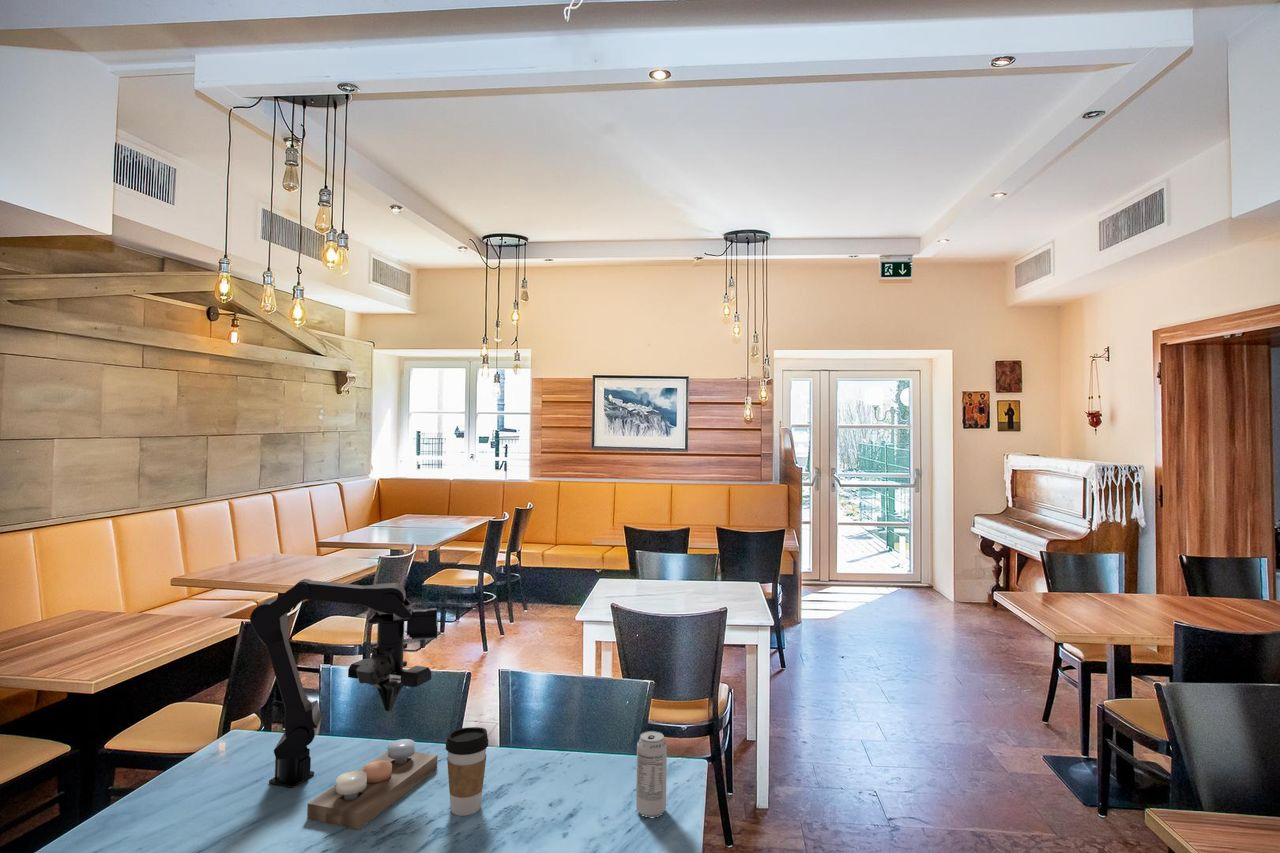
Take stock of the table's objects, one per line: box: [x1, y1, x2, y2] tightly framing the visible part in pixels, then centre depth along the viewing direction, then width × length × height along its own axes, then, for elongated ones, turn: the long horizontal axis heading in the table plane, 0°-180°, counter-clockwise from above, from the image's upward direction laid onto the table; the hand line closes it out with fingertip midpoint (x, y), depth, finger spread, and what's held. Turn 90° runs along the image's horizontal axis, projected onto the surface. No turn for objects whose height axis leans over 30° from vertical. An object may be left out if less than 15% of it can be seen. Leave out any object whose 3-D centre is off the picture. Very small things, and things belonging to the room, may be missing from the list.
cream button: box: [335, 770, 367, 801], centre depth 135 cm, size 6×6×5 cm
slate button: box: [387, 738, 416, 765], centre depth 150 cm, size 6×6×5 cm
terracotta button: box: [363, 761, 392, 783], centre depth 142 cm, size 6×6×5 cm
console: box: [306, 750, 438, 830], centre depth 142 cm, size 12×26×3 cm, turn 164°
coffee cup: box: [445, 726, 489, 817], centre depth 137 cm, size 8×8×15 cm
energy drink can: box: [635, 730, 668, 817], centre depth 136 cm, size 6×6×15 cm
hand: (388, 710), depth 153 cm, fingers closed
